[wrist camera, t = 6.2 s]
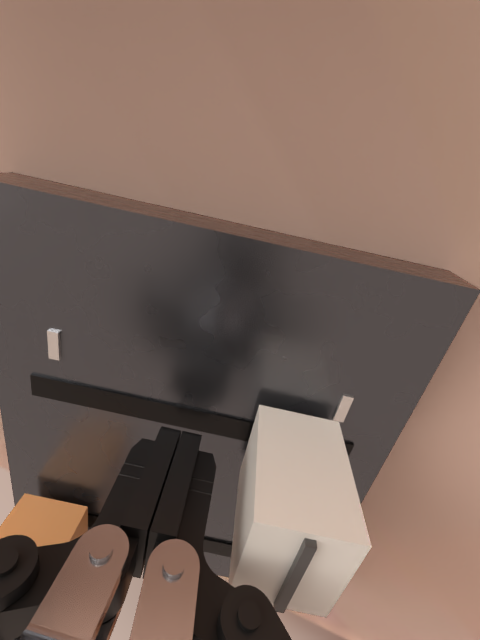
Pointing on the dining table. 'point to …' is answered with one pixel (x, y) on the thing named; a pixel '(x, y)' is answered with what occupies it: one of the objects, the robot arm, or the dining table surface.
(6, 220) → the console
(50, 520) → the fader orange
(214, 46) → the dining table surface
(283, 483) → the fader white
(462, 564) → the dining table surface
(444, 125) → the dining table surface
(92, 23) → the dining table surface
